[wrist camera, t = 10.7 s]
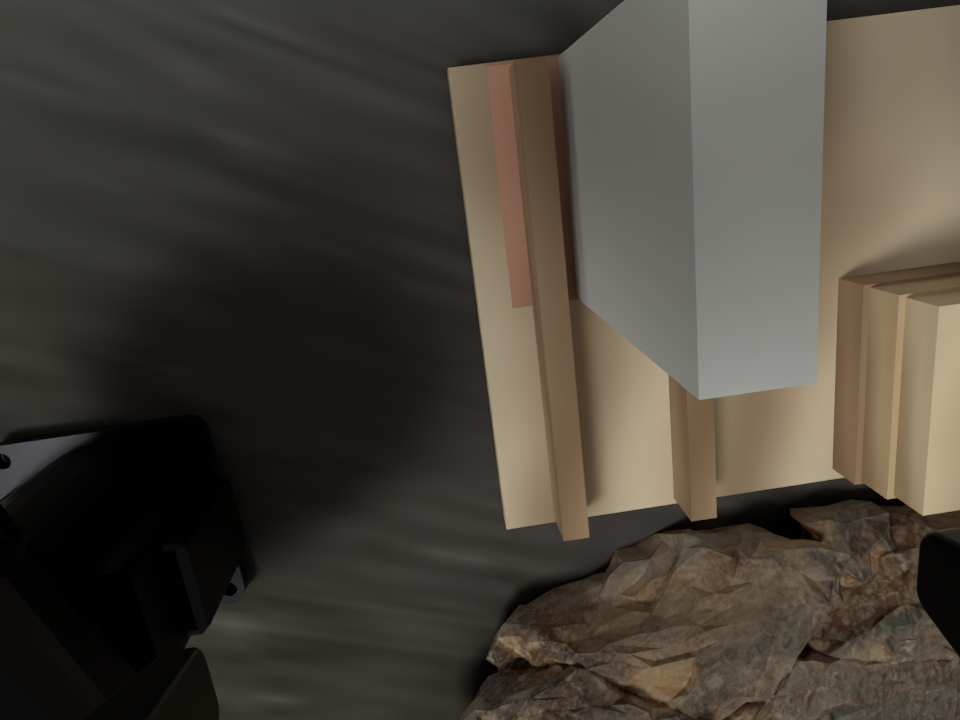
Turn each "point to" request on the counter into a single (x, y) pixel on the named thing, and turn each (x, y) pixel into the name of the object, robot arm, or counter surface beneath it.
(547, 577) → the counter surface
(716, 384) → the panel
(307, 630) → the counter surface
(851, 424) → the tan wooden square tile
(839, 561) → the craggy brown boulder
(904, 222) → the rack
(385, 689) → the counter surface
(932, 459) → the pine offcut
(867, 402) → the oak offcut
